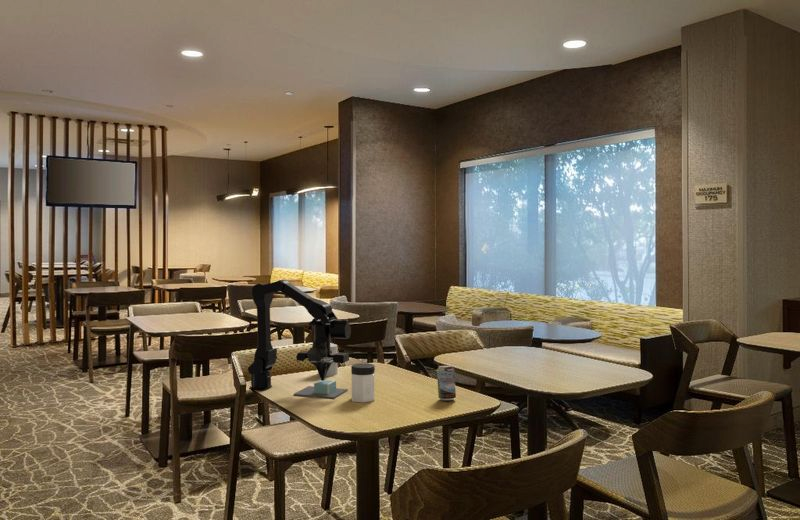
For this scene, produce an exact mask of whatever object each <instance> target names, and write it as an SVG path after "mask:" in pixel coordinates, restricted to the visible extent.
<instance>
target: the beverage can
mask: <svg viewBox="0 0 800 520" xmlns="http://www.w3.org/2000/svg"><path fill="white" fill-rule="evenodd" d="M436 374H437V375H436V376H437V378H436V379H437V393H438V394H437V395H438V396H437V397H438V399H440V401H452V400H454V399H456V397H457V391H456V376H455V368H454V367H453V365H440V366H439V365H438V367H437V369H436Z"/></svg>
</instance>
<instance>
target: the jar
mask: <svg viewBox="0 0 800 520" xmlns="http://www.w3.org/2000/svg"><path fill="white" fill-rule="evenodd" d="M350 370H351V402H353V403H356V402H357V403H363V404H364V403H369V402H371V403H372V402H375V370H376V368H375V364H372V363H367V362H366V363H365V362H361V363H360V362H359V363H354V364H351V369H350Z"/></svg>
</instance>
